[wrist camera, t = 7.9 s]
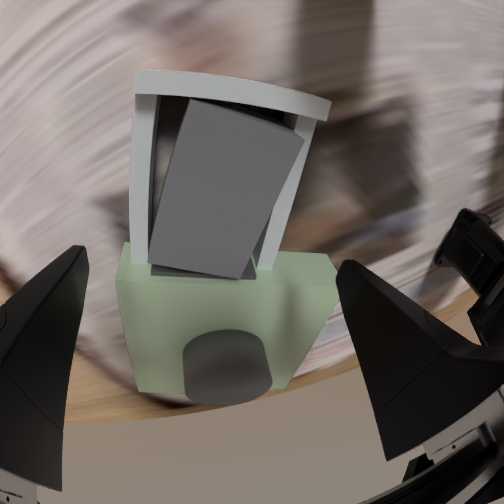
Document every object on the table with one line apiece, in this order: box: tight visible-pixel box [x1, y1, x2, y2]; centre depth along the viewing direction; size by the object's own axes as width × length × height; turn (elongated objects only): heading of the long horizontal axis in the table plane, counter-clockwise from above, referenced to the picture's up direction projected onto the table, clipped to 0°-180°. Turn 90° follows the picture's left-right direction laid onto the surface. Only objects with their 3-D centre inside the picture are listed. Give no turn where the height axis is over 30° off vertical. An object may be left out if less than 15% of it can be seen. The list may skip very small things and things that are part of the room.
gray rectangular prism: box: [147, 97, 305, 279], centre depth 14 cm, size 5×8×4 cm, turn 159°
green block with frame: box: [115, 69, 339, 406], centre depth 17 cm, size 14×24×6 cm, turn 168°
